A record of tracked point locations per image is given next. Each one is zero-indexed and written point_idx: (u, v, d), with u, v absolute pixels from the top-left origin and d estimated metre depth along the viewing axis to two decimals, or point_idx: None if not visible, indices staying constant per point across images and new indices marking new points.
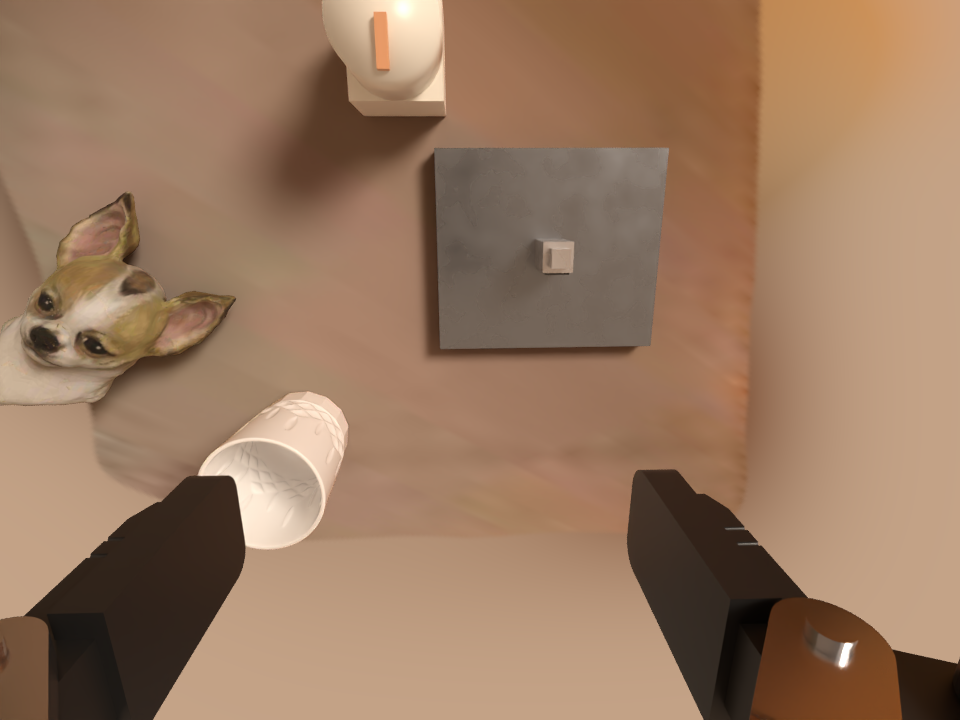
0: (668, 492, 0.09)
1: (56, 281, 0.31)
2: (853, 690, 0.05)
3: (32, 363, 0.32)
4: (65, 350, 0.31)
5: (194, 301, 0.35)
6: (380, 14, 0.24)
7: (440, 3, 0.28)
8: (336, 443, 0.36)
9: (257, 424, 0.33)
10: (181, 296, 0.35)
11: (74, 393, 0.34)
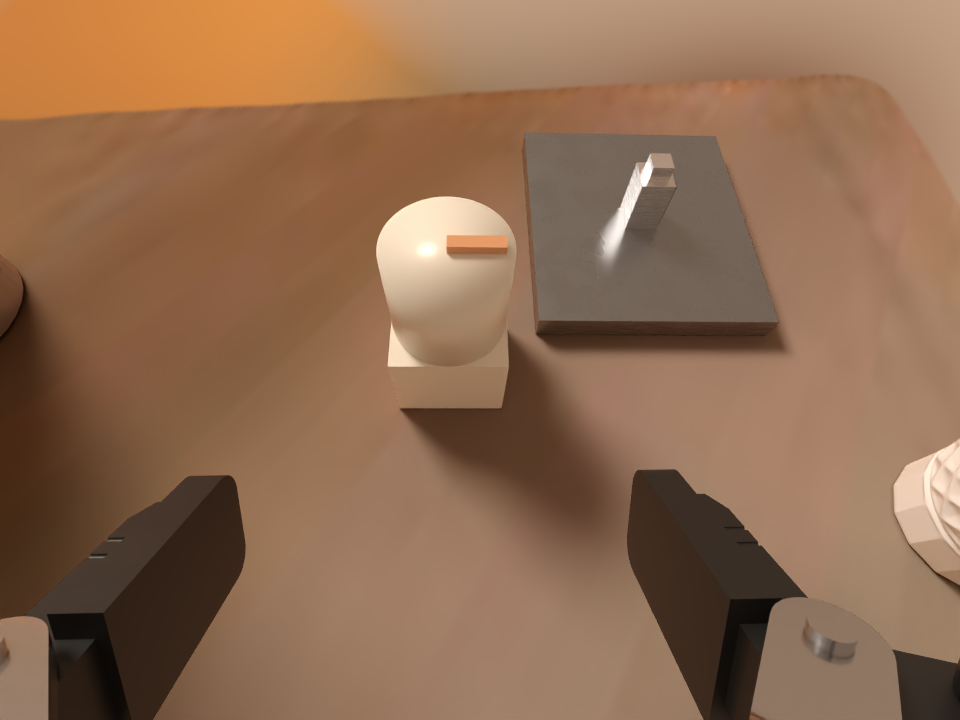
0: (668, 492, 0.09)
1: None
2: (852, 691, 0.05)
3: None
4: None
5: None
6: (449, 240, 0.20)
7: None
8: None
9: None
10: None
11: None
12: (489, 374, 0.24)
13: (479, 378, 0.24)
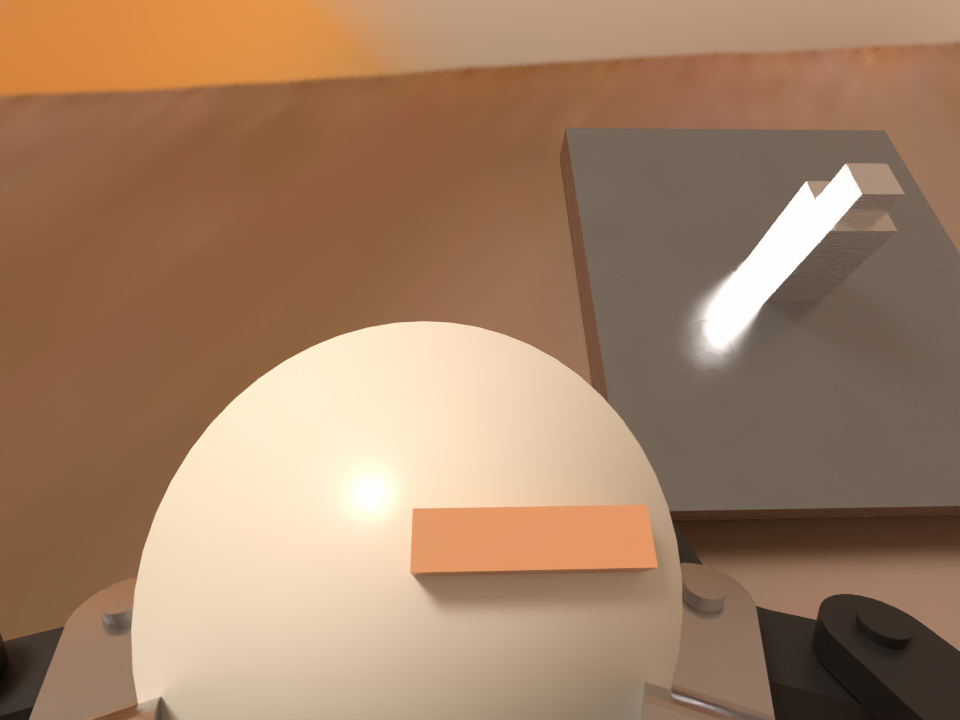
0: None
1: None
2: (709, 639, 0.06)
3: None
4: None
5: None
6: (422, 537, 0.05)
7: None
8: None
9: None
10: None
11: None
12: None
13: None
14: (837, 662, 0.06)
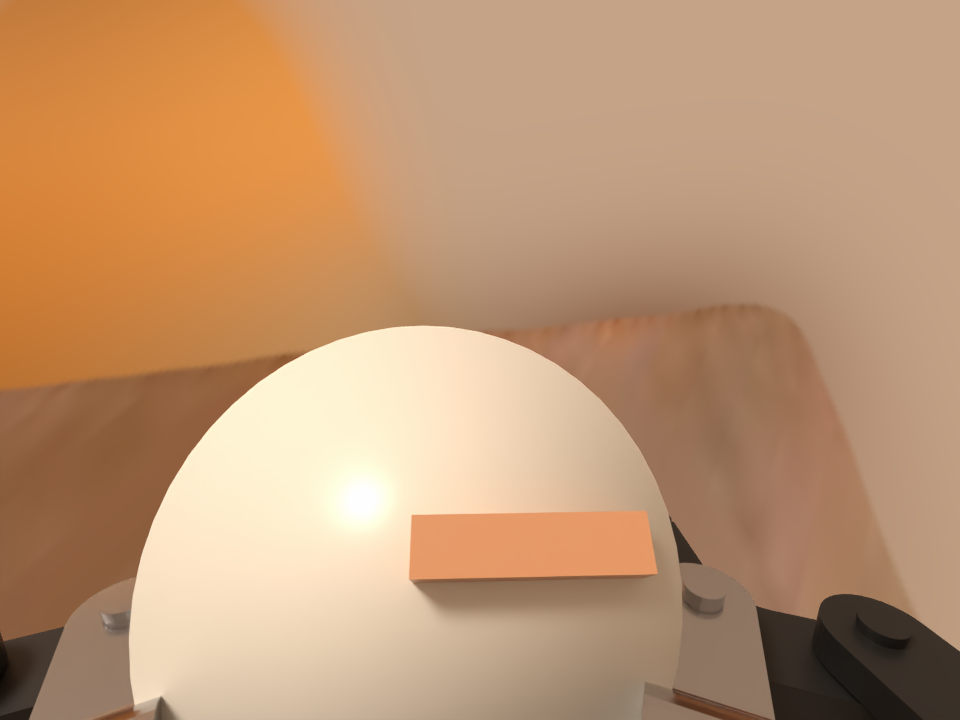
0: None
1: None
2: (709, 639, 0.06)
3: None
4: None
5: None
6: (421, 543, 0.05)
7: None
8: None
9: None
10: None
11: None
12: None
13: None
14: (837, 662, 0.06)
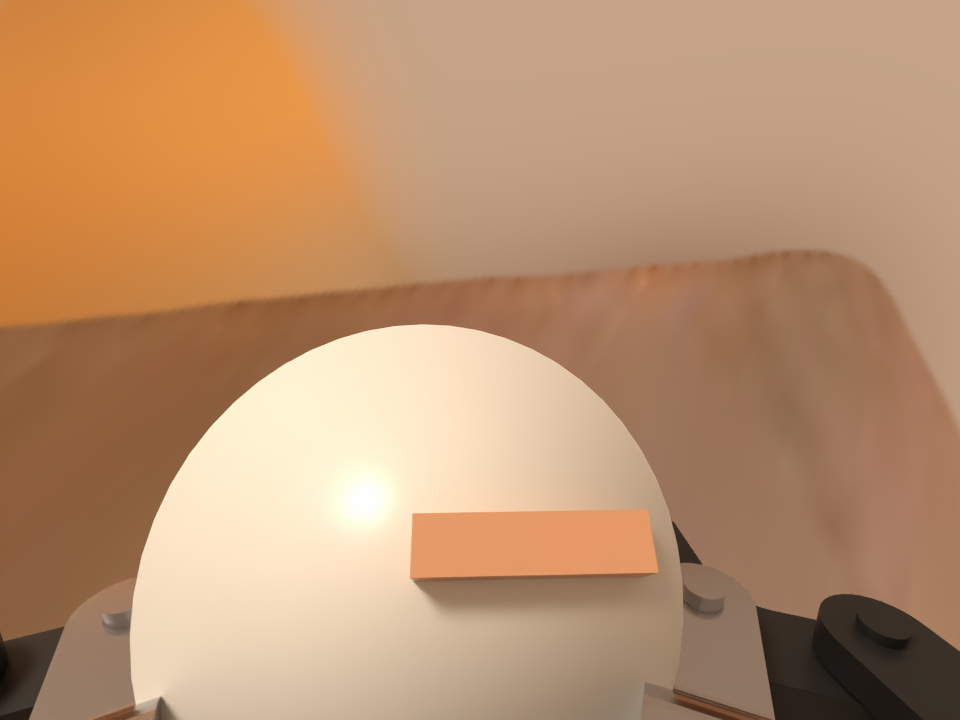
0: None
1: None
2: (710, 638, 0.06)
3: None
4: None
5: None
6: (422, 542, 0.05)
7: None
8: None
9: None
10: None
11: None
12: None
13: None
14: (837, 662, 0.06)
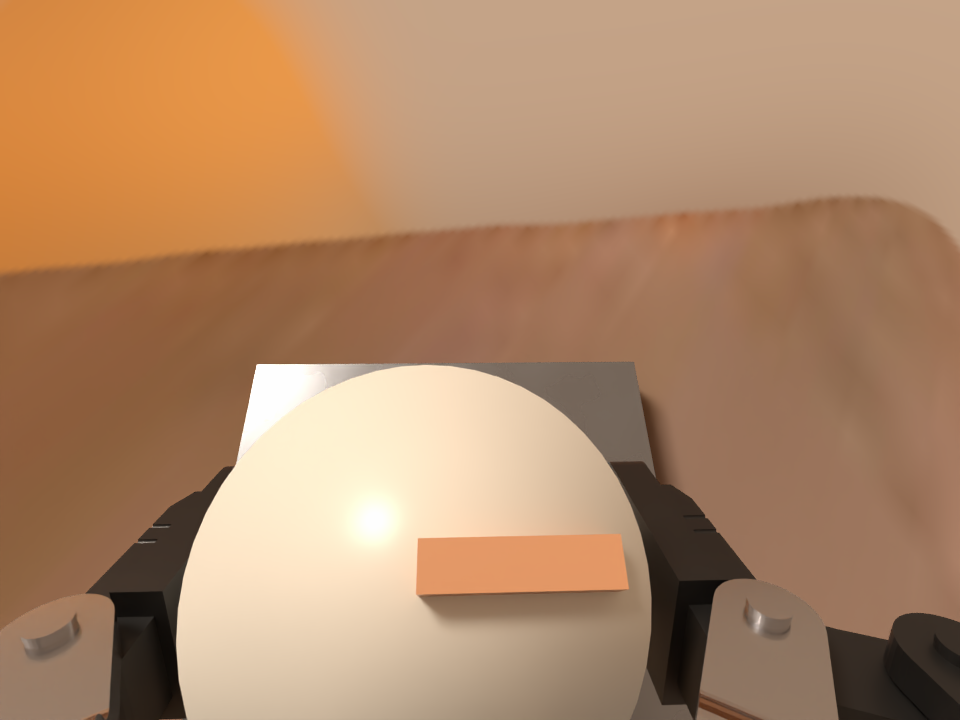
0: (633, 482, 0.09)
1: None
2: (782, 662, 0.05)
3: None
4: None
5: None
6: (426, 563, 0.06)
7: None
8: None
9: None
10: None
11: None
12: None
13: None
14: (909, 680, 0.05)
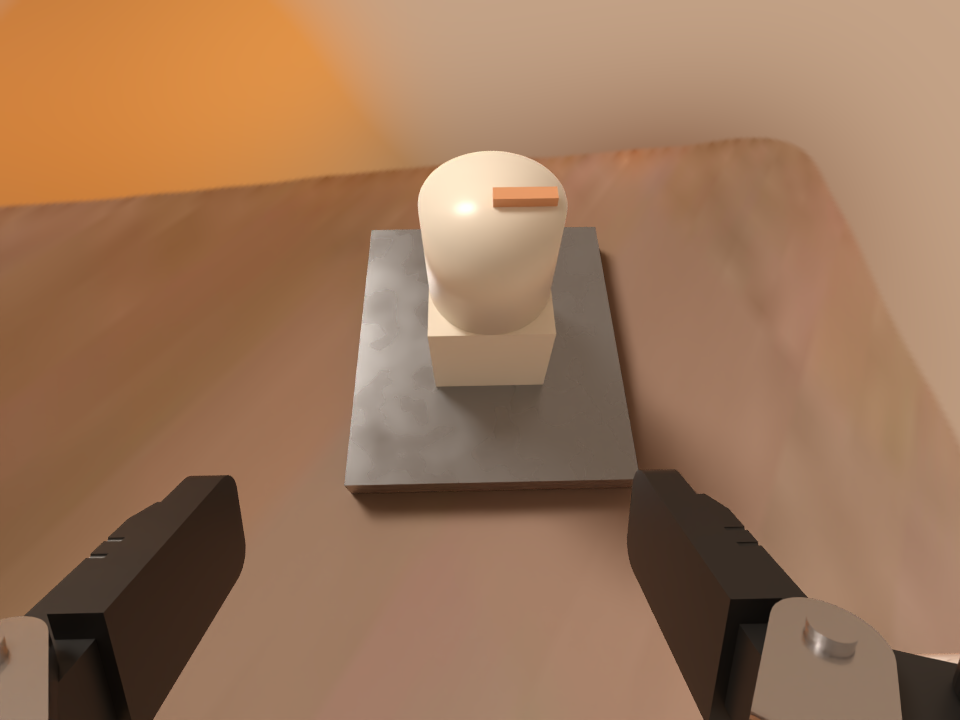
0: (668, 492, 0.09)
1: None
2: (853, 691, 0.05)
3: None
4: None
5: None
6: (495, 193, 0.19)
7: None
8: None
9: None
10: None
11: None
12: (534, 343, 0.23)
13: (523, 348, 0.23)
14: None
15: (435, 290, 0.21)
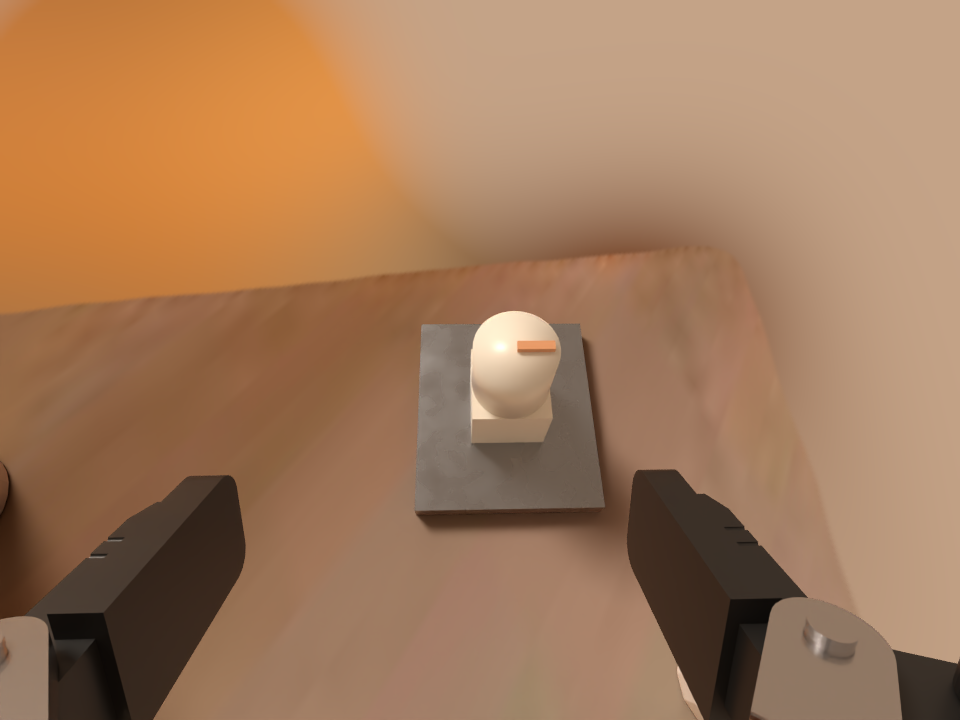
0: (668, 492, 0.09)
1: None
2: (853, 691, 0.05)
3: None
4: None
5: None
6: (519, 344, 0.32)
7: None
8: None
9: None
10: None
11: None
12: (538, 422, 0.36)
13: (531, 424, 0.36)
14: None
15: (478, 392, 0.34)
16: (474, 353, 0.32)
